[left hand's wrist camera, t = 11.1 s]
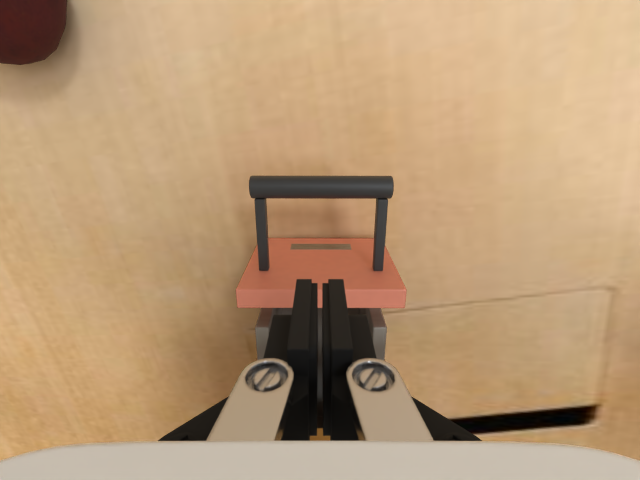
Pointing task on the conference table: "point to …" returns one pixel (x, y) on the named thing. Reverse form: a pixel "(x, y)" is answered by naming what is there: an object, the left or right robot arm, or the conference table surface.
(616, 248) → the conference table surface
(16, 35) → the potato
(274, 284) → the drawer
